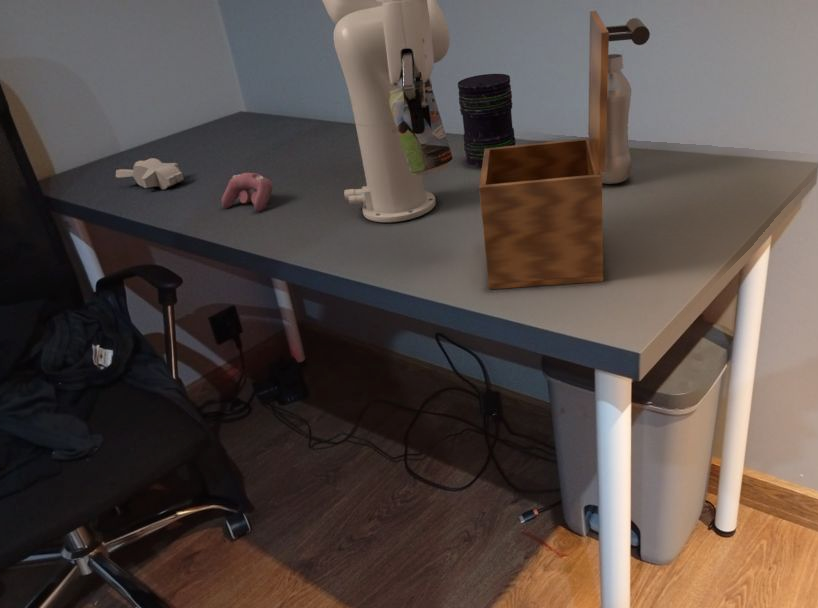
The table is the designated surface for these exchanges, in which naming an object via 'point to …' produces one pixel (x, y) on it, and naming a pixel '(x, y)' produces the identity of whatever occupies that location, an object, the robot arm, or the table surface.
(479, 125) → the storage jar
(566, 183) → the chest
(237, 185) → the video game controller
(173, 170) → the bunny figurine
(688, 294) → the table surface
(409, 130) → the beverage can
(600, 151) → the chest lid
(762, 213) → the table surface
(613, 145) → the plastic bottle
